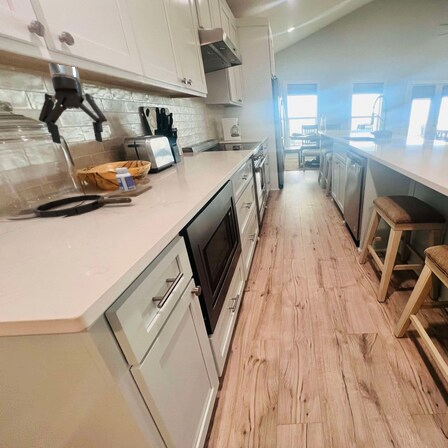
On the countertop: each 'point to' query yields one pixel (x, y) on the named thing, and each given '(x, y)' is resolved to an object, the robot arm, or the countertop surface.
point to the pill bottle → (125, 180)
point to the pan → (79, 209)
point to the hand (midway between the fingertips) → (78, 142)
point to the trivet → (128, 194)
